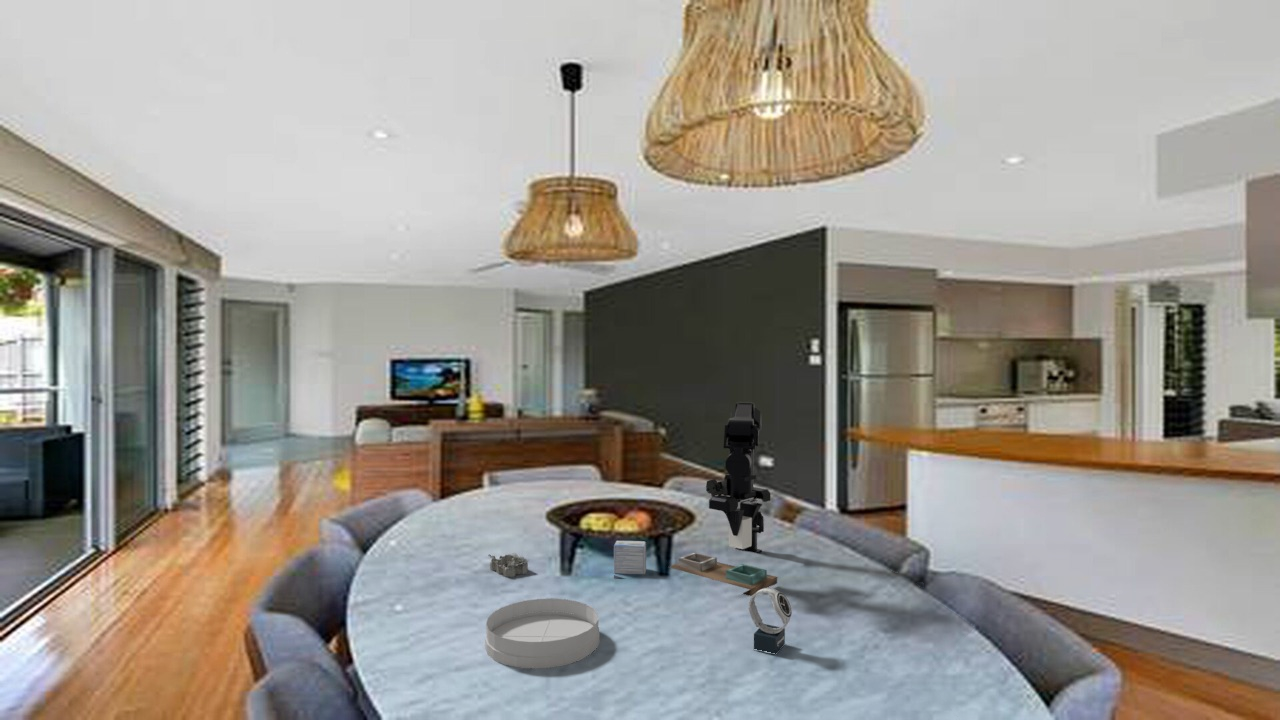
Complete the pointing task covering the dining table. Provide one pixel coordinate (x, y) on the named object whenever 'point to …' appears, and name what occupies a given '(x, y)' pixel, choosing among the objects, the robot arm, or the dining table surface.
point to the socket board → (726, 572)
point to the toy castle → (509, 565)
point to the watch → (770, 635)
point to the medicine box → (629, 557)
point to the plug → (742, 534)
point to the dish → (542, 633)
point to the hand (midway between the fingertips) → (740, 533)
